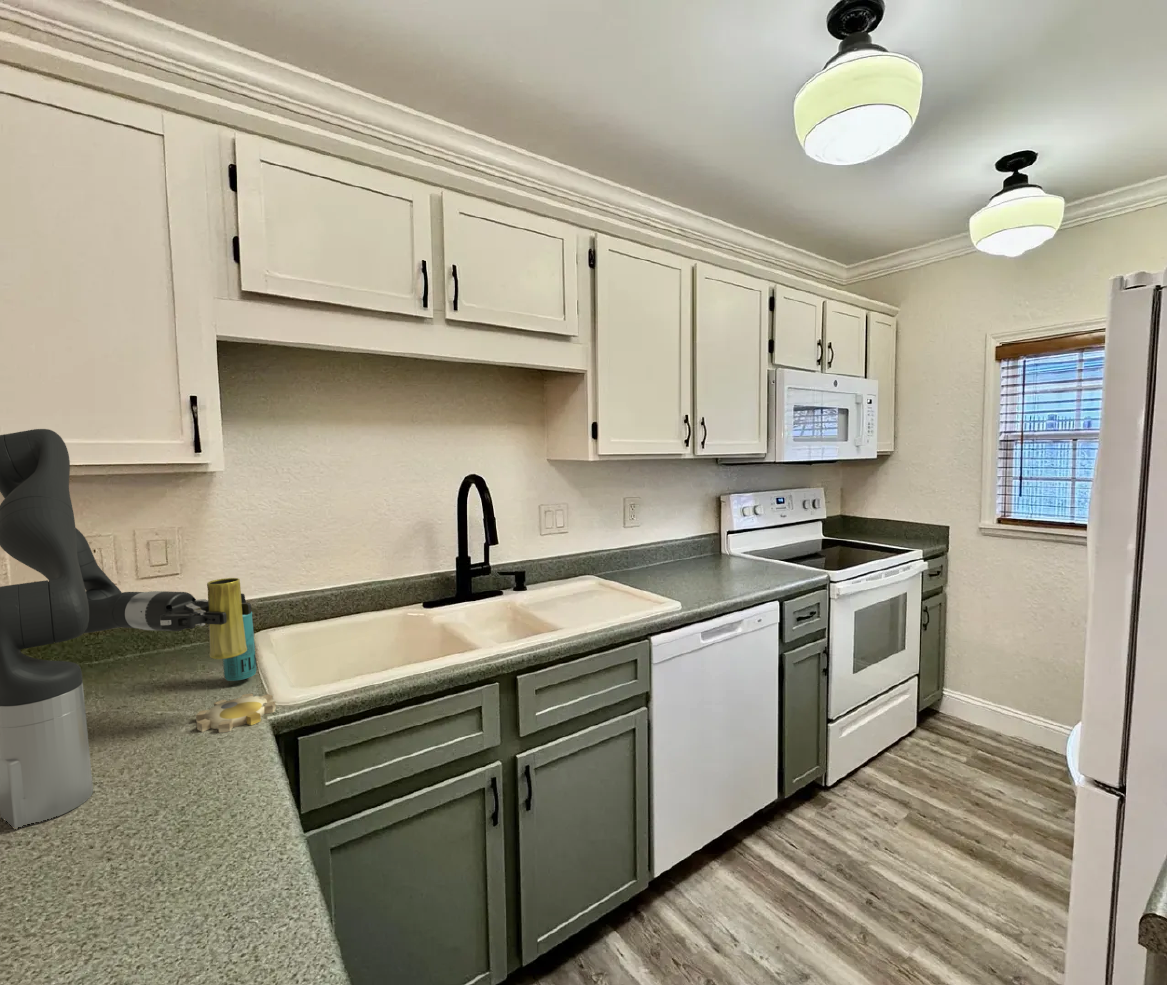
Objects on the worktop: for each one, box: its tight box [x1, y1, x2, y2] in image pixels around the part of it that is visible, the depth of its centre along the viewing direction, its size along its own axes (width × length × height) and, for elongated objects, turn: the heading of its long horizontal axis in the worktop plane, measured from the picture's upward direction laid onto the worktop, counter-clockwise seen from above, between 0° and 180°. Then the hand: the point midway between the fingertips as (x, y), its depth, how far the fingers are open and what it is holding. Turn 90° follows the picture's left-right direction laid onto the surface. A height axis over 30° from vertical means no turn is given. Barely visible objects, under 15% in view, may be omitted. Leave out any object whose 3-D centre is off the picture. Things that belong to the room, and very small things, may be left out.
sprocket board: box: [195, 693, 277, 734], centre depth 107 cm, size 13×13×2 cm
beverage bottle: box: [221, 593, 258, 682], centre depth 123 cm, size 6×7×20 cm
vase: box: [206, 577, 247, 660], centre depth 105 cm, size 6×6×14 cm
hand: (237, 613), depth 105 cm, fingers closed on vase, 5 cm apart
